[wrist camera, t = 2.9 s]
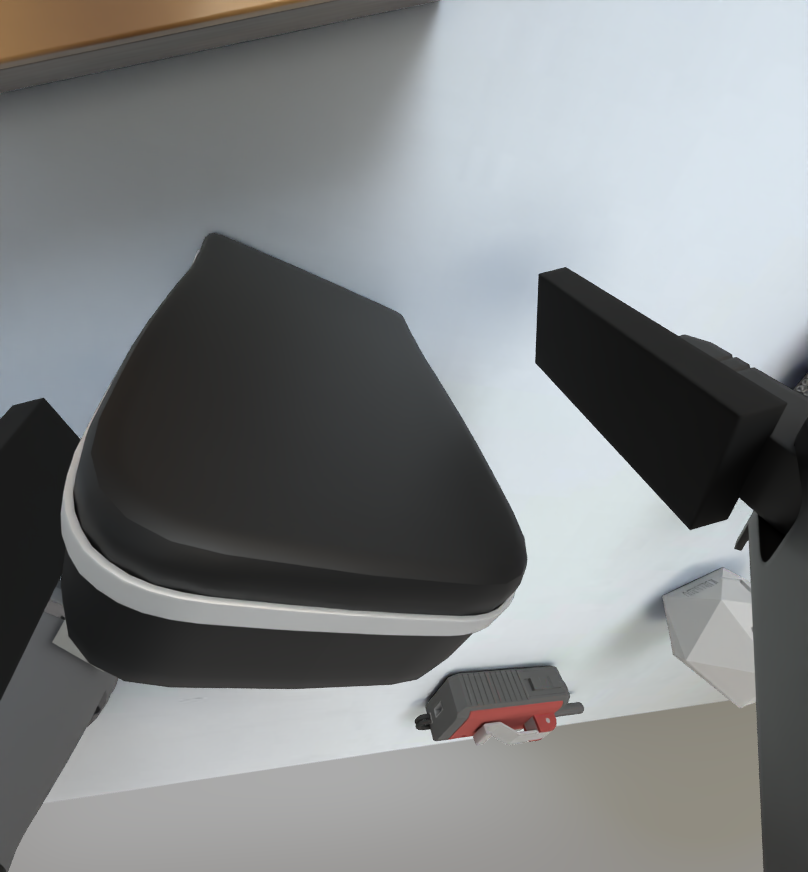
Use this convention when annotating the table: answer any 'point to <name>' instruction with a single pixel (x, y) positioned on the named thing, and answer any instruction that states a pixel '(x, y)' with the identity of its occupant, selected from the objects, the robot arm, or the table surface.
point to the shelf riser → (147, 31)
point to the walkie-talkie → (498, 705)
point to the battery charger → (279, 494)
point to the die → (715, 632)
